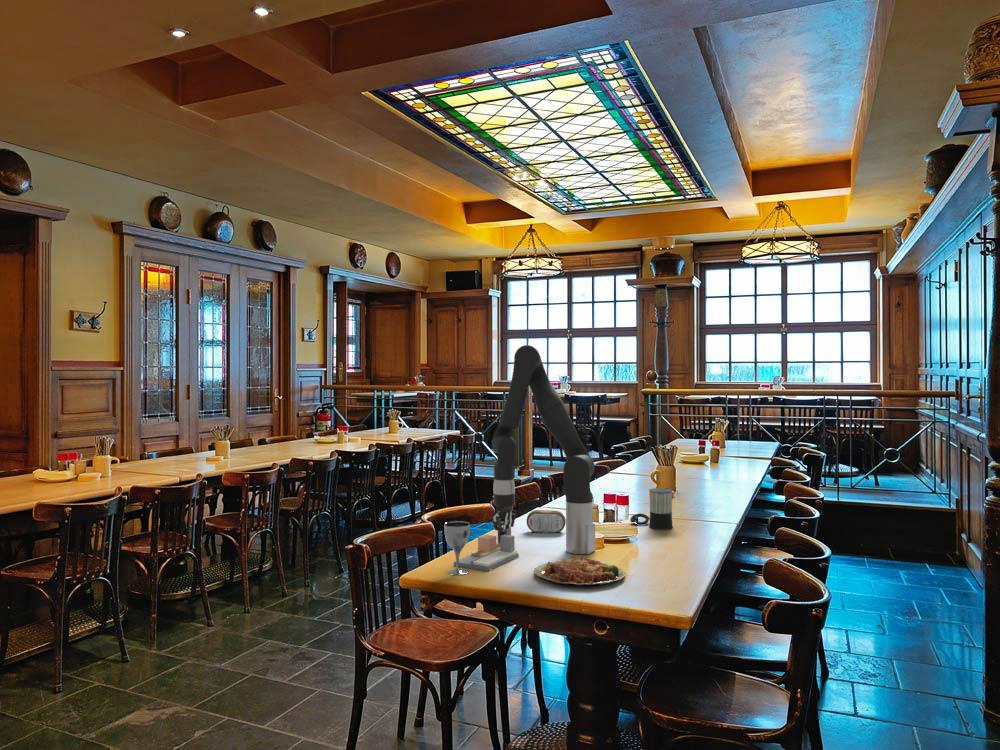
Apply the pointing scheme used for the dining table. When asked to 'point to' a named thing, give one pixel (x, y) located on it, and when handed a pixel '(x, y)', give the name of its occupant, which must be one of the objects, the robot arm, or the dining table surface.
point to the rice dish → (579, 571)
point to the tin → (546, 521)
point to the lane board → (469, 559)
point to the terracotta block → (487, 543)
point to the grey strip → (499, 552)
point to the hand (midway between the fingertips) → (504, 540)
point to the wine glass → (457, 541)
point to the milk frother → (658, 509)
